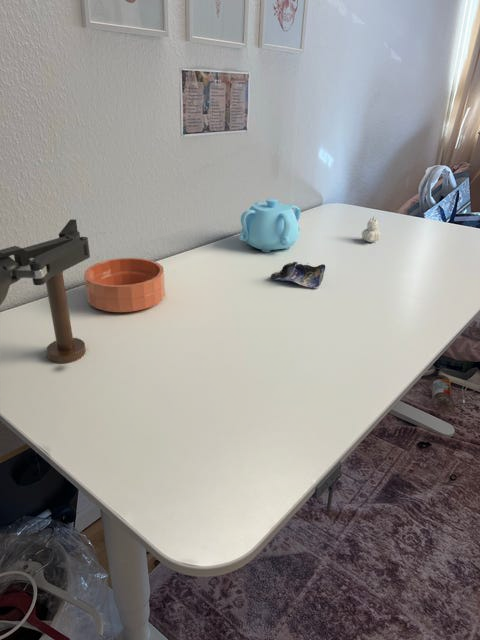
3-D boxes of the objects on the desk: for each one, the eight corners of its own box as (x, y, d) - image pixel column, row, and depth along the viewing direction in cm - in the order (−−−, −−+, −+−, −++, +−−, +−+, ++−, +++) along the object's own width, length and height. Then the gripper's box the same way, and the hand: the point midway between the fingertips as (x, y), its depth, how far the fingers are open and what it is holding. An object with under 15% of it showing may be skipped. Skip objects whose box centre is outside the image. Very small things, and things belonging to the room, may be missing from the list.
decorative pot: (286, 259, 131) (289, 209, 124) (232, 249, 136) (233, 201, 130) (304, 242, 144) (308, 197, 138) (255, 234, 150) (257, 190, 143)
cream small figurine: (379, 240, 147) (383, 214, 144) (378, 246, 142) (382, 219, 138) (361, 238, 149) (365, 212, 145) (359, 244, 143) (363, 218, 140)
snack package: (285, 295, 110) (330, 287, 113) (284, 267, 108) (330, 260, 111) (265, 283, 120) (306, 277, 124) (264, 258, 118) (306, 252, 122)
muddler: (41, 361, 82) (21, 266, 74) (58, 343, 88) (41, 252, 80) (76, 364, 82) (61, 268, 74) (91, 346, 87) (78, 254, 79)
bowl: (75, 312, 99) (70, 283, 96) (104, 281, 114) (101, 255, 111) (153, 318, 98) (151, 289, 95) (172, 286, 112) (171, 260, 109)
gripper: (-171, 332, 46) (-68, 256, 65) (92, 326, 49) (119, 255, 67) (-202, 259, 43) (-83, 201, 62) (83, 256, 45) (114, 201, 64)
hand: (22, 229), depth 65 cm, fingers open, 13 cm apart
